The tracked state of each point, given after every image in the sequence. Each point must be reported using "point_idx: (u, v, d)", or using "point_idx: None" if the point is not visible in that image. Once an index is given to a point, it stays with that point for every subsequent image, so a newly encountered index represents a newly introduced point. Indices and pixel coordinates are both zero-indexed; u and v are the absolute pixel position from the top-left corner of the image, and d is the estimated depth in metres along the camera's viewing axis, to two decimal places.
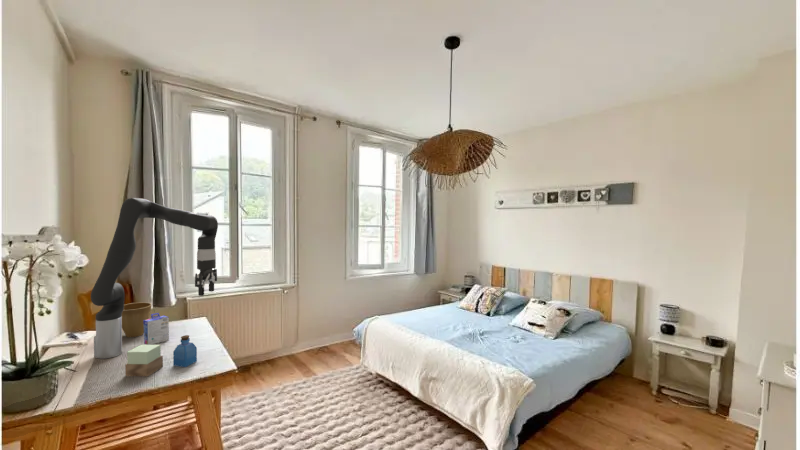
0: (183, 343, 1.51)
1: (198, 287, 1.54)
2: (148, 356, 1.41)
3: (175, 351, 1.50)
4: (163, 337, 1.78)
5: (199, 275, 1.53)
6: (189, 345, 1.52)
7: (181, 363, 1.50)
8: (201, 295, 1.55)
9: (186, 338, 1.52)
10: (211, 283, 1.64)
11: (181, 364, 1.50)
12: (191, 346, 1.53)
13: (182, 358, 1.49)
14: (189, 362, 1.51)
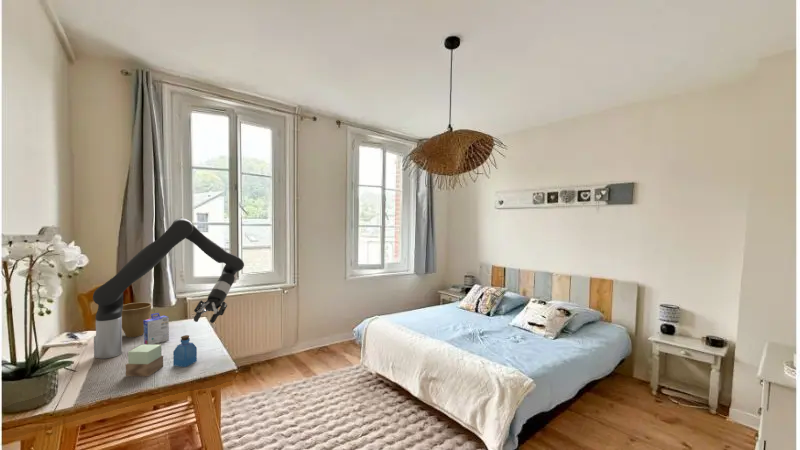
0: (183, 343, 1.51)
1: (217, 314, 1.65)
2: (149, 356, 1.41)
3: (175, 351, 1.50)
4: (163, 337, 1.78)
5: (226, 305, 1.69)
6: (189, 345, 1.52)
7: (181, 363, 1.50)
8: (212, 322, 1.63)
9: (186, 338, 1.52)
10: (199, 314, 1.67)
11: (181, 364, 1.50)
12: (191, 346, 1.53)
13: (182, 358, 1.49)
14: (189, 362, 1.51)
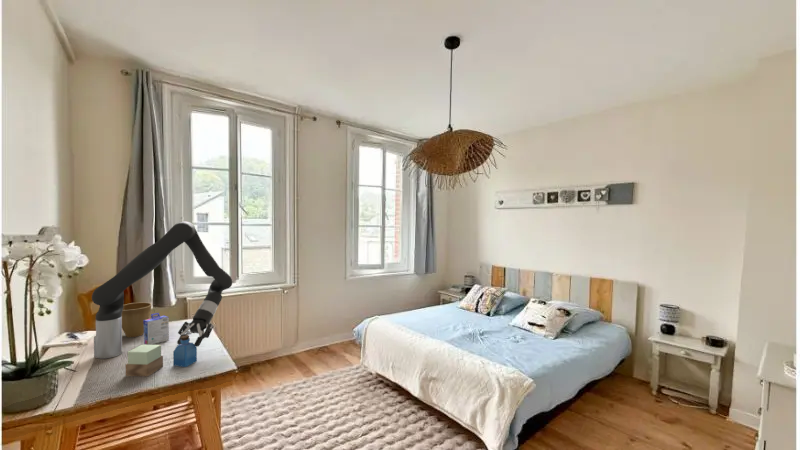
0: (183, 343, 1.51)
1: (202, 337, 1.55)
2: (148, 357, 1.41)
3: (175, 351, 1.50)
4: (163, 337, 1.78)
5: (212, 326, 1.60)
6: (189, 345, 1.52)
7: (181, 363, 1.50)
8: (197, 345, 1.53)
9: (186, 338, 1.52)
10: None
11: (181, 364, 1.50)
12: (191, 346, 1.53)
13: (182, 358, 1.49)
14: (189, 362, 1.51)
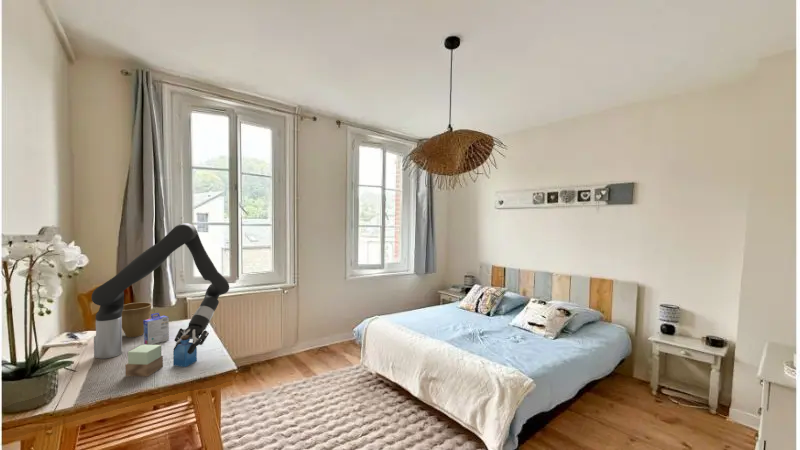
0: (183, 343, 1.51)
1: (195, 344, 1.52)
2: (148, 357, 1.41)
3: (175, 351, 1.50)
4: (163, 337, 1.78)
5: (207, 334, 1.57)
6: (189, 345, 1.52)
7: (181, 363, 1.50)
8: (190, 353, 1.51)
9: (186, 338, 1.52)
10: None
11: (181, 364, 1.50)
12: None
13: (182, 358, 1.49)
14: (189, 362, 1.51)
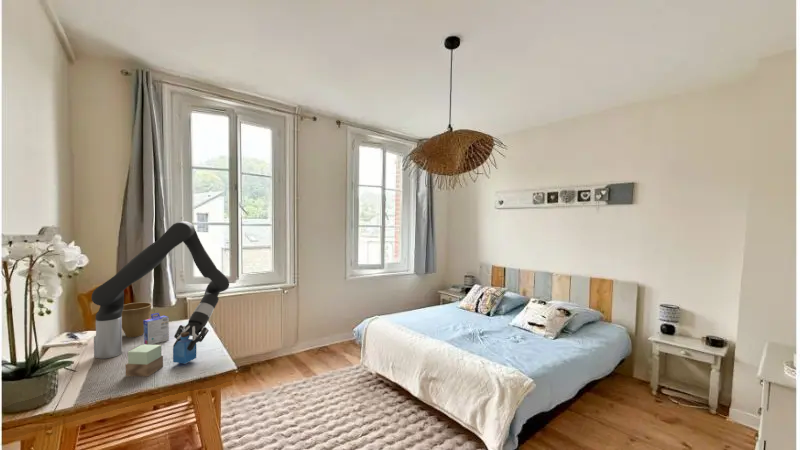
0: (183, 340, 1.51)
1: (195, 341, 1.53)
2: (148, 357, 1.41)
3: (175, 348, 1.50)
4: (163, 337, 1.78)
5: (207, 331, 1.57)
6: (188, 342, 1.52)
7: (181, 359, 1.50)
8: (190, 350, 1.51)
9: (186, 335, 1.52)
10: None
11: (181, 361, 1.50)
12: None
13: (182, 355, 1.49)
14: (189, 358, 1.51)
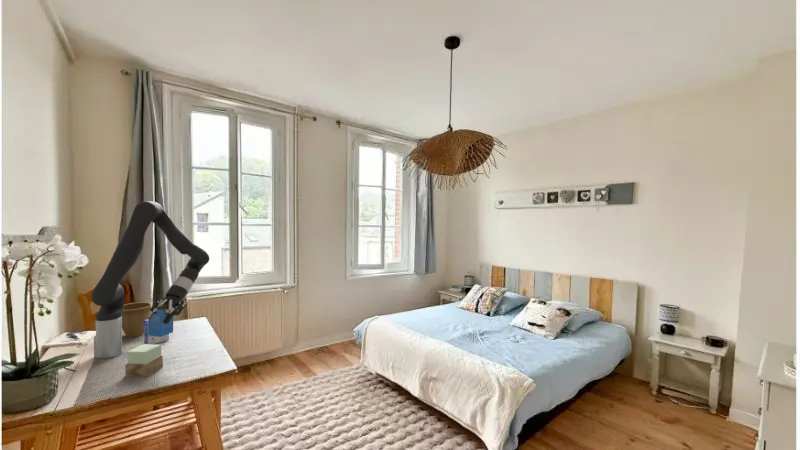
0: (159, 312, 1.46)
1: (172, 314, 1.48)
2: (147, 356, 1.41)
3: (150, 320, 1.45)
4: (163, 337, 1.78)
5: (185, 304, 1.52)
6: (165, 315, 1.47)
7: (156, 333, 1.45)
8: (166, 323, 1.46)
9: (162, 307, 1.47)
10: None
11: (156, 334, 1.45)
12: None
13: (157, 328, 1.44)
14: (165, 332, 1.46)
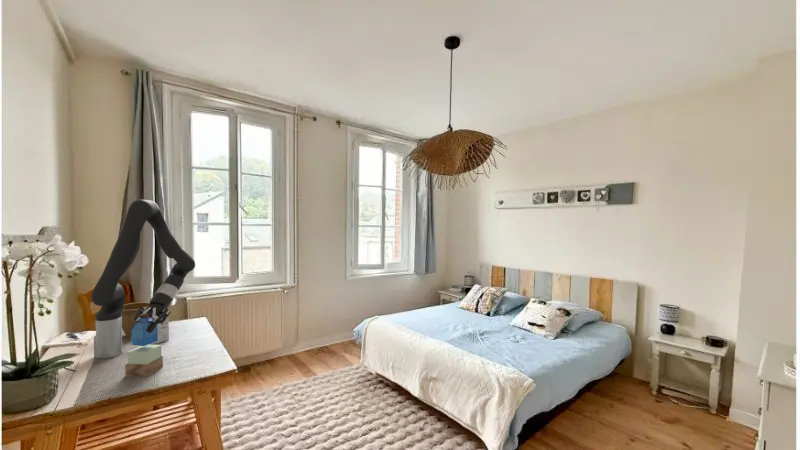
0: (142, 321, 1.43)
1: (155, 322, 1.44)
2: (148, 357, 1.41)
3: (133, 330, 1.42)
4: (163, 337, 1.78)
5: (169, 312, 1.48)
6: (148, 324, 1.44)
7: (139, 342, 1.41)
8: (149, 332, 1.42)
9: (145, 316, 1.43)
10: None
11: (139, 343, 1.41)
12: None
13: (140, 337, 1.41)
14: (149, 341, 1.43)
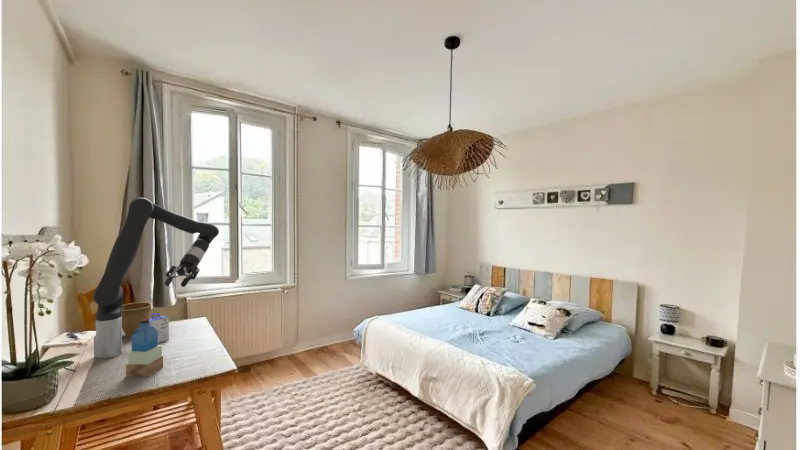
0: (143, 327, 1.42)
1: (188, 278, 1.62)
2: (149, 357, 1.41)
3: (134, 335, 1.41)
4: (163, 337, 1.78)
5: (198, 270, 1.66)
6: (149, 329, 1.44)
7: (140, 347, 1.41)
8: (183, 286, 1.60)
9: (146, 321, 1.43)
10: (171, 278, 1.64)
11: (140, 349, 1.41)
12: (151, 330, 1.44)
13: (142, 342, 1.41)
14: (150, 346, 1.43)
